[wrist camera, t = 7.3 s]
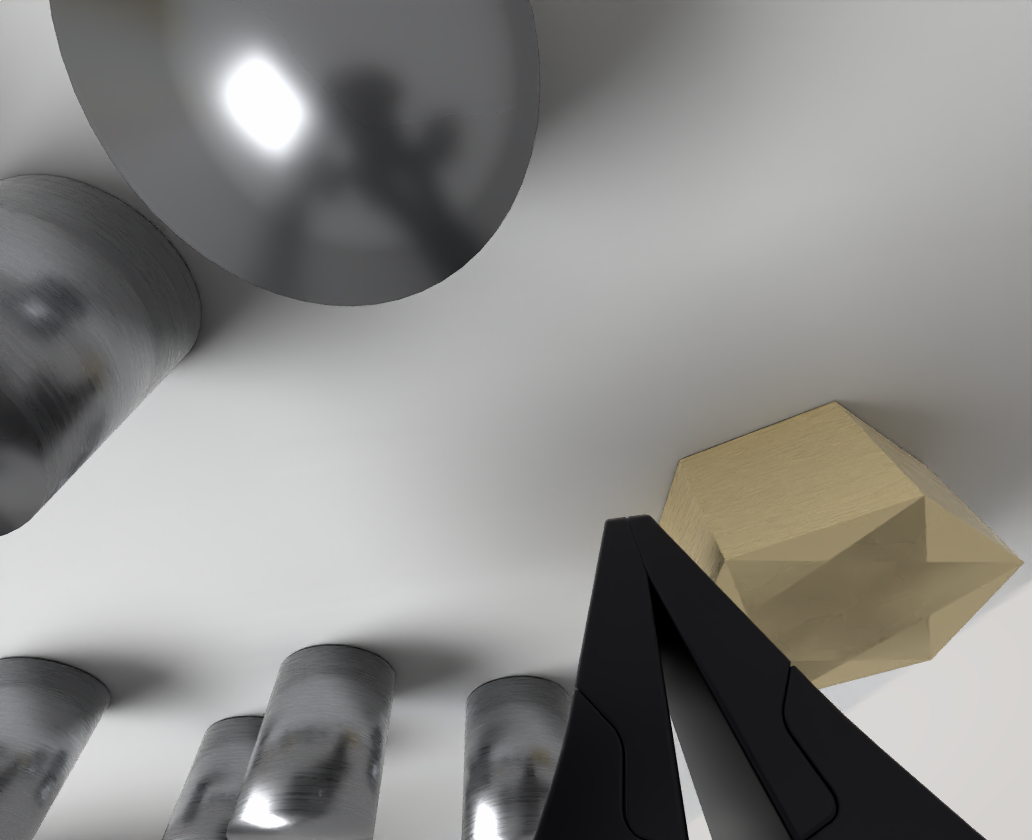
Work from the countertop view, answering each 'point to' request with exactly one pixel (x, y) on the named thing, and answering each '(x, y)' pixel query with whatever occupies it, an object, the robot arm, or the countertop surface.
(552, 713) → the spacers
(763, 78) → the countertop surface
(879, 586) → the wooden star-faceted hexagon
